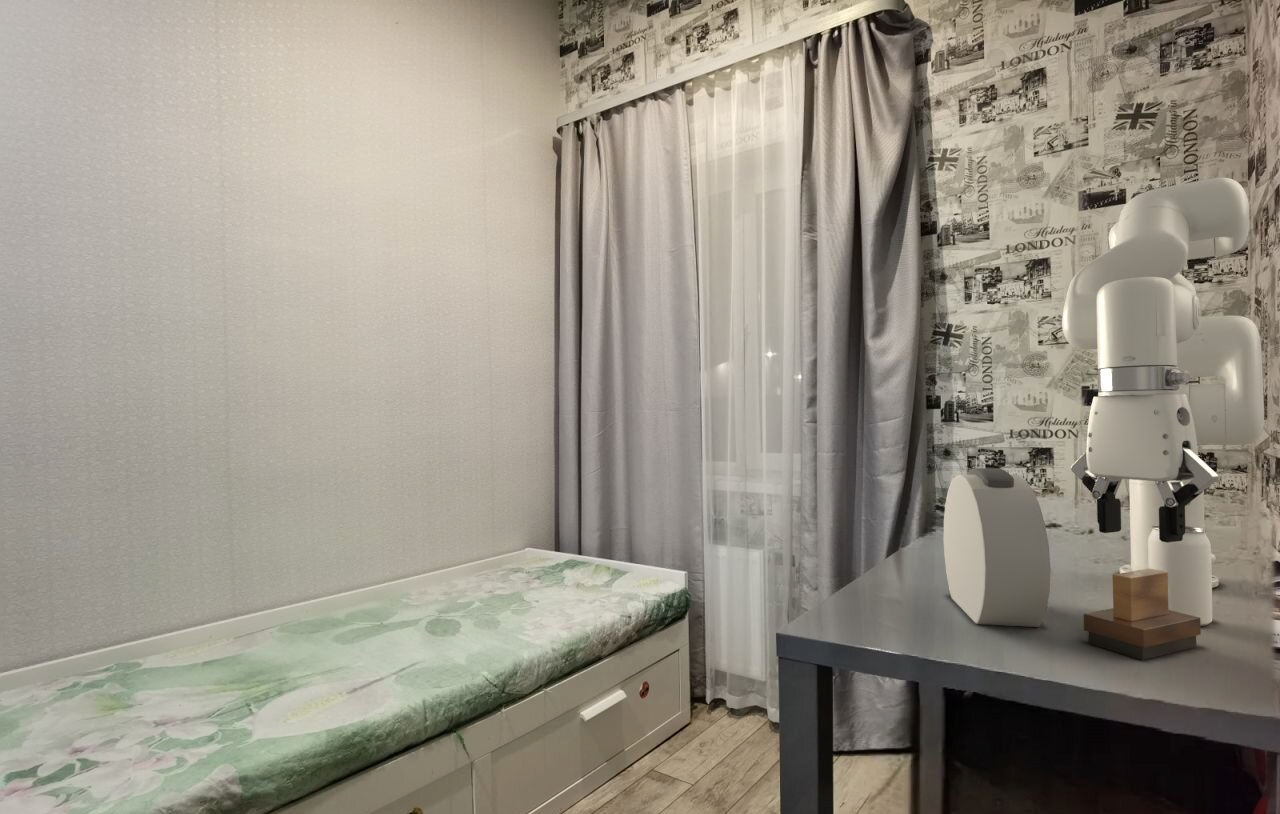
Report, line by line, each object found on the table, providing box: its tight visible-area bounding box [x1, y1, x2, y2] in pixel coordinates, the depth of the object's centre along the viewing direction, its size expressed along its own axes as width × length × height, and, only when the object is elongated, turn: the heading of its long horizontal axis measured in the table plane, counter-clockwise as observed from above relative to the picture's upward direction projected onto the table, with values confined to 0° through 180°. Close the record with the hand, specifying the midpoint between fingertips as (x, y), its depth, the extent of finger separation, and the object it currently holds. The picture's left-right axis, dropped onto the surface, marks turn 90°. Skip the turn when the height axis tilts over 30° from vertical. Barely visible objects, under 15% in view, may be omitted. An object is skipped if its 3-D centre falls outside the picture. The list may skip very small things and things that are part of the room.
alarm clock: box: [943, 467, 1052, 628], centre depth 92 cm, size 21×8×20 cm, turn 168°
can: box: [1148, 525, 1213, 627], centre depth 88 cm, size 6×6×12 cm
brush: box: [1083, 569, 1202, 661], centre depth 78 cm, size 11×7×8 cm, turn 113°
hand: (1139, 534), depth 78 cm, fingers open, 6 cm apart
